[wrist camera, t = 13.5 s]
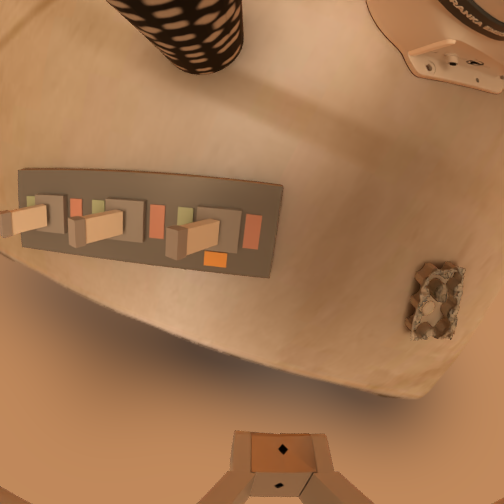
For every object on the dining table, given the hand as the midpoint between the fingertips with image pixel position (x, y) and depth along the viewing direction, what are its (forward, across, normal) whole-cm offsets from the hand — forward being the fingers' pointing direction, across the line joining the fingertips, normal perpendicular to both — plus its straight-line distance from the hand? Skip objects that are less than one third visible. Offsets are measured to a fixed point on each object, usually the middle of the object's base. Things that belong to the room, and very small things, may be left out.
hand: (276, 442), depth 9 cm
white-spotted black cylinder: (+27, +8, -20) cm, 34 cm away
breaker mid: (+24, +14, 0) cm, 28 cm away
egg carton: (+27, -24, +6) cm, 37 cm away
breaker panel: (+26, +14, 0) cm, 30 cm away
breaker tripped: (+24, +4, 0) cm, 24 cm away
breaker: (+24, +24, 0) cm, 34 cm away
